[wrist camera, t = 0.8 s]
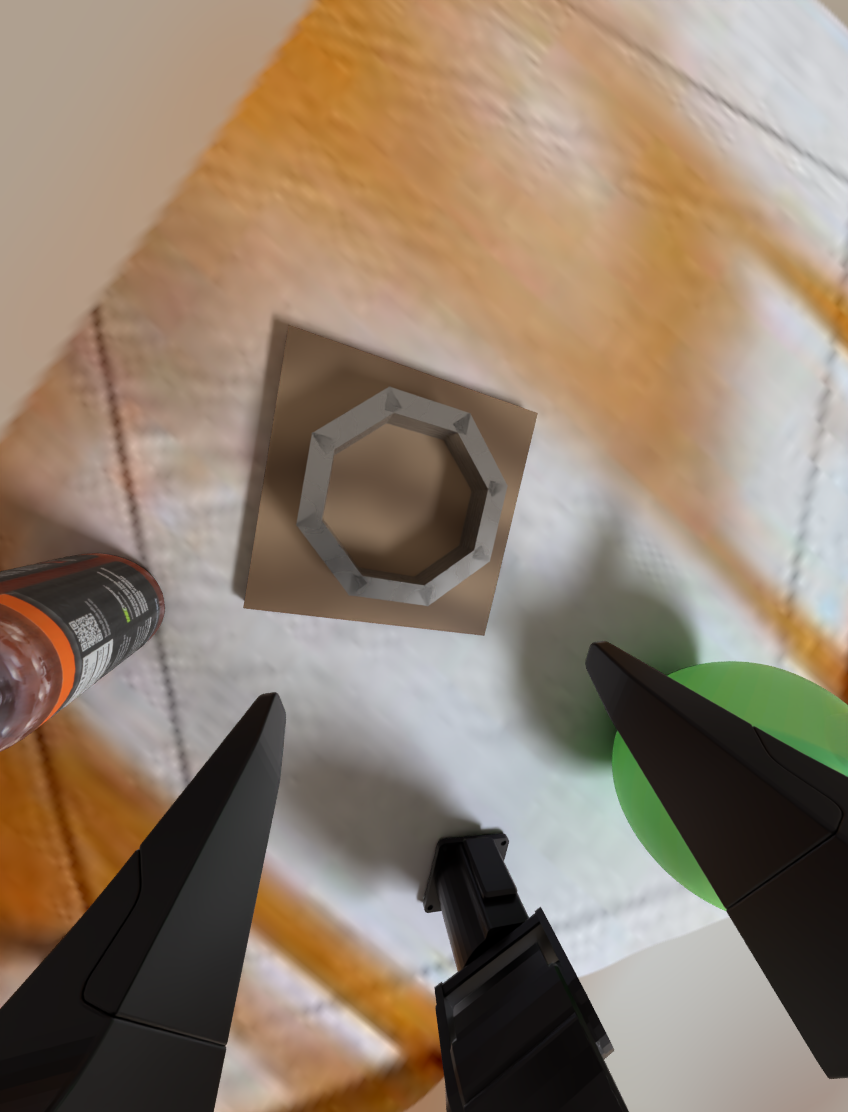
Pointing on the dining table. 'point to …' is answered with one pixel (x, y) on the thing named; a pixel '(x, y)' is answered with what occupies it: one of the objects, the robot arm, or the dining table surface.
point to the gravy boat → (764, 702)
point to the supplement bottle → (67, 632)
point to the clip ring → (468, 457)
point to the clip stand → (376, 491)
